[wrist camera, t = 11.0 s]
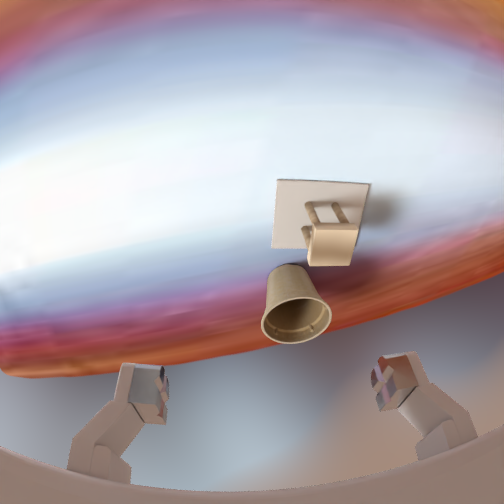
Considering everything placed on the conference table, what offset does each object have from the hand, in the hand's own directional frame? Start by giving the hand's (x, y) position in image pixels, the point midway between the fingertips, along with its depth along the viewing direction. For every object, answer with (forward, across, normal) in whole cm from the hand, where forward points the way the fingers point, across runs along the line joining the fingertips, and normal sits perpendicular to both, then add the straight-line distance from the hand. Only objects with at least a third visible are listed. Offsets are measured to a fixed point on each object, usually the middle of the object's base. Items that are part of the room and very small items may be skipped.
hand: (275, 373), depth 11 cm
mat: (+29, -10, +10) cm, 32 cm away
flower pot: (+29, -7, +21) cm, 37 cm away
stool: (+29, -10, +10) cm, 32 cm away
